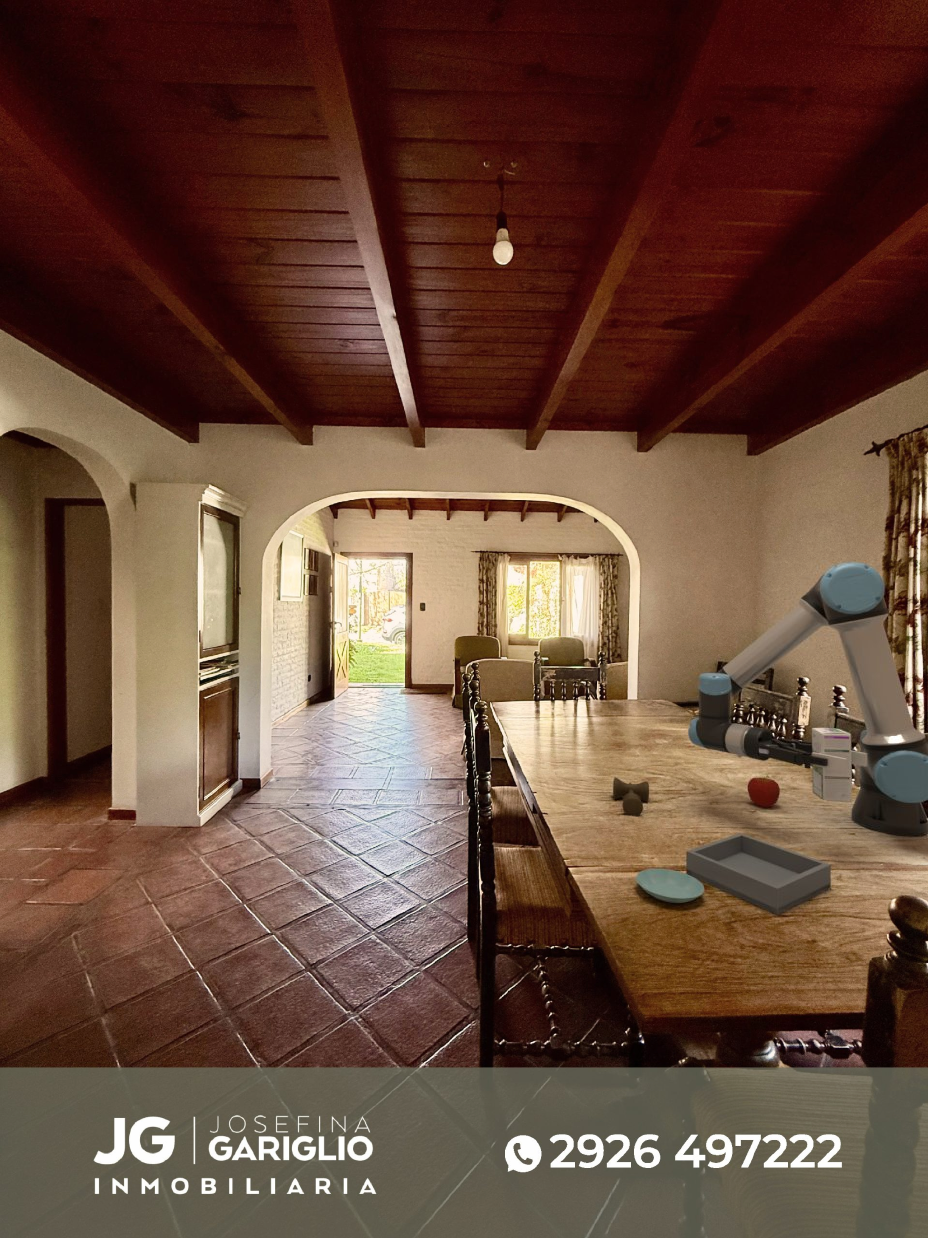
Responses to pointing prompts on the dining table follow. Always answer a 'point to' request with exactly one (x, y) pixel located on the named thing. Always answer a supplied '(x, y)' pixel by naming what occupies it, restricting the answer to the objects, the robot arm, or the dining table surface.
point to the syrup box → (826, 780)
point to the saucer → (670, 885)
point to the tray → (759, 872)
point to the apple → (763, 791)
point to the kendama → (631, 795)
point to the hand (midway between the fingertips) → (856, 762)
